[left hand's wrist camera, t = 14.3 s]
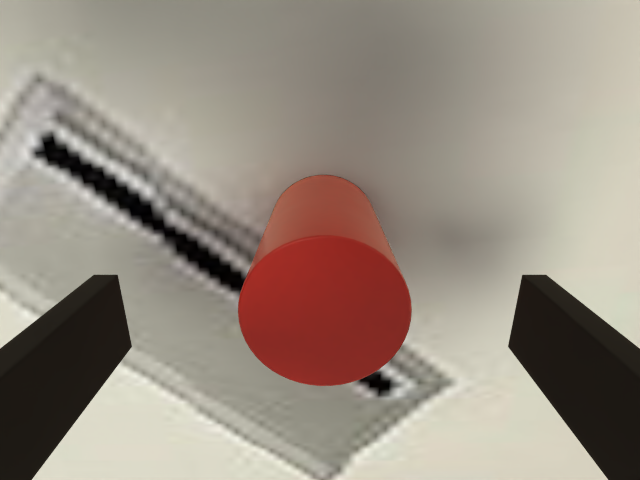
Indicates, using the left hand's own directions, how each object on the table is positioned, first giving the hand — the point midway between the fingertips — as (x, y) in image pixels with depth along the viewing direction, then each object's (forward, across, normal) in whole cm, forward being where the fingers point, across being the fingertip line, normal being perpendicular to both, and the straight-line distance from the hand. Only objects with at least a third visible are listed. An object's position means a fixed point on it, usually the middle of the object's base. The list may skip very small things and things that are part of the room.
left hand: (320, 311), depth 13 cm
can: (+8, 0, 0) cm, 8 cm away
